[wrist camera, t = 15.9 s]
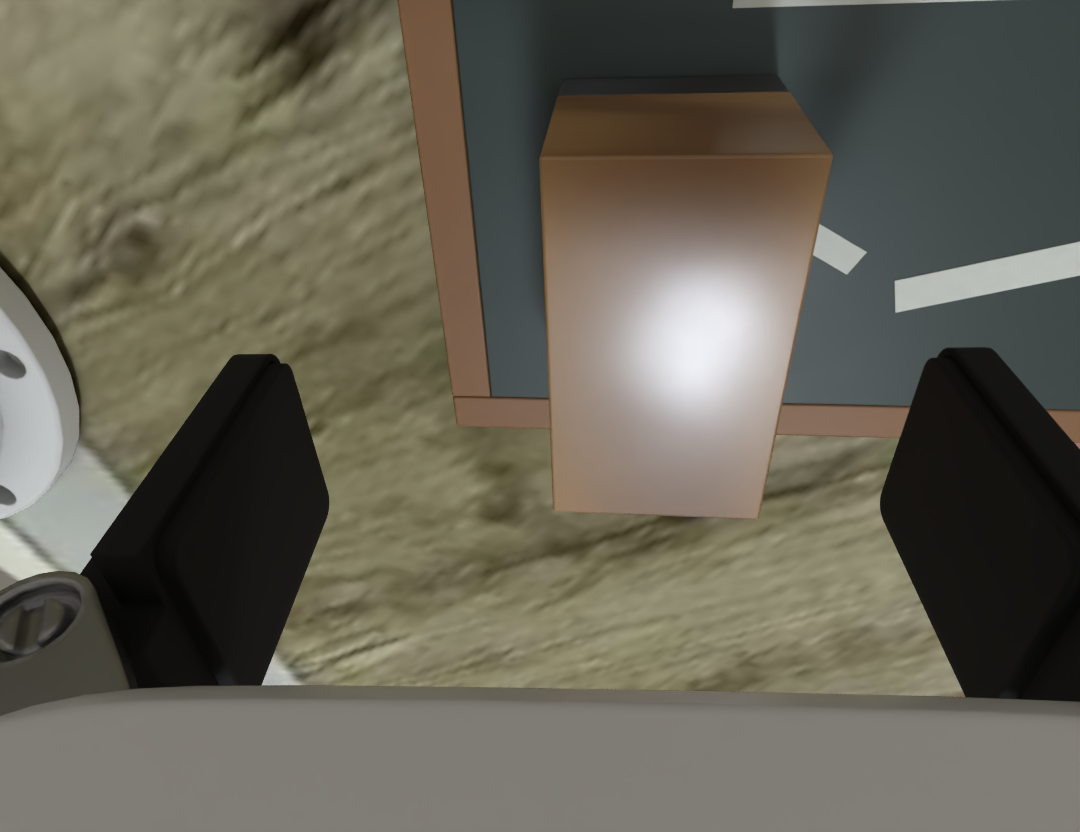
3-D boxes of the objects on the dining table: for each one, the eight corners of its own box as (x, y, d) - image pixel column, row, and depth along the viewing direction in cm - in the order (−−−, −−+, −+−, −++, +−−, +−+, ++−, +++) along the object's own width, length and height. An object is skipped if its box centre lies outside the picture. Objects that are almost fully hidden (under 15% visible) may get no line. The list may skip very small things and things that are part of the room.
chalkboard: (461, 409, 20) (456, 428, 19) (367, -311, 11) (351, -320, 11) (1442, 433, 17) (1473, 455, 17) (2259, -453, 9) (2386, -477, 8)
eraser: (567, 382, 18) (553, 512, 14) (561, 78, 14) (538, 156, 10) (732, 386, 18) (759, 520, 14) (778, 73, 13) (834, 153, 10)
